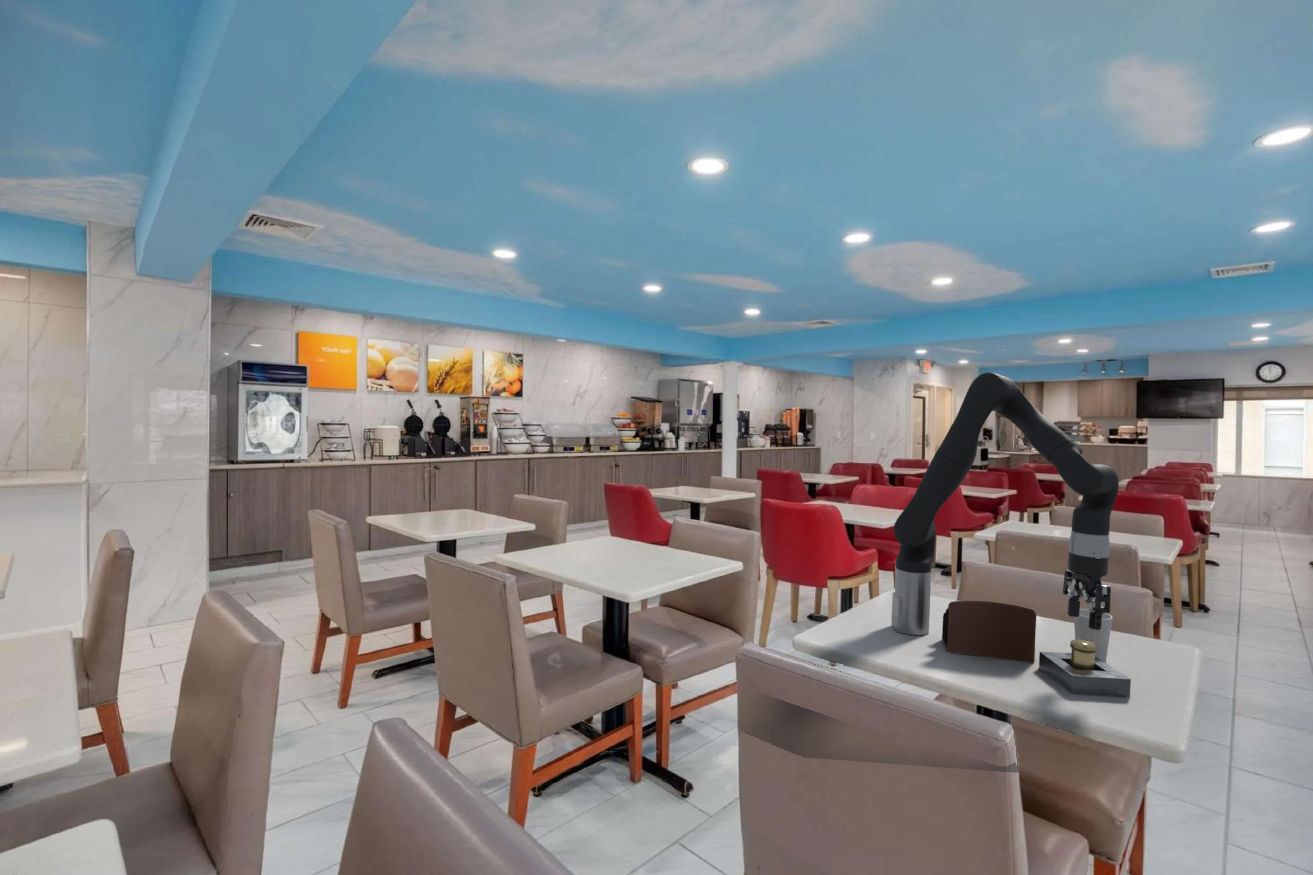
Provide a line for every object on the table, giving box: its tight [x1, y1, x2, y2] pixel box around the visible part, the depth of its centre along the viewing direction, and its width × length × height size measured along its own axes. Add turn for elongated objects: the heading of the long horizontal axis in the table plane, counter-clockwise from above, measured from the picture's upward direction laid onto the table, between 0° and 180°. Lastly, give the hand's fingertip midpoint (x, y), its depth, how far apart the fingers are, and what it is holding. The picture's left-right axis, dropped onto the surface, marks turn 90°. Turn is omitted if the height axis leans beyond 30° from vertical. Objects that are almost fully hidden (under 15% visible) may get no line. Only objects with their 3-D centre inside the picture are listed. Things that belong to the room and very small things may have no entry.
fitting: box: [1069, 639, 1097, 671], centre depth 144 cm, size 5×5×9 cm
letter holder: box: [941, 600, 1037, 664], centre depth 162 cm, size 10×20×14 cm, turn 72°
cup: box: [1073, 608, 1113, 663], centre depth 156 cm, size 8×8×12 cm
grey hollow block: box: [1038, 651, 1132, 698], centre depth 144 cm, size 12×14×4 cm
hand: (1083, 622), depth 143 cm, fingers open, 8 cm apart
